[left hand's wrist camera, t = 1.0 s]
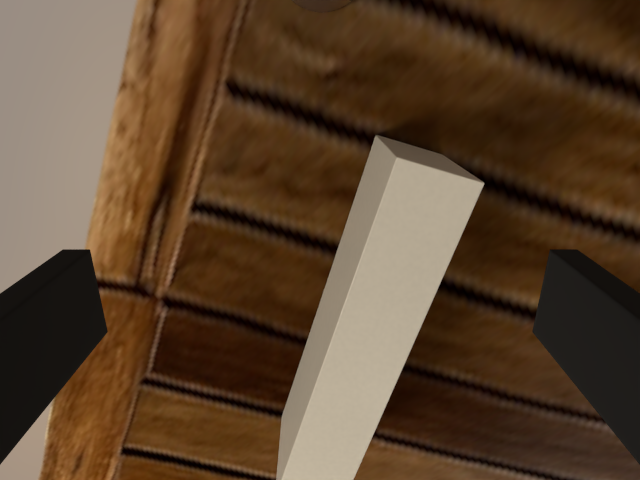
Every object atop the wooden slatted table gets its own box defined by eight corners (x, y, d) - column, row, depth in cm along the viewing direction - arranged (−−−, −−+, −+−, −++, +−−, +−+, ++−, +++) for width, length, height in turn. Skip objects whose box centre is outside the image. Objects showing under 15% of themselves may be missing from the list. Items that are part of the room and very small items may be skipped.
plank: (375, 134, 30) (396, 156, 22) (442, 154, 30) (485, 183, 23) (281, 416, 39) (274, 498, 31) (334, 427, 39) (339, 511, 32)
